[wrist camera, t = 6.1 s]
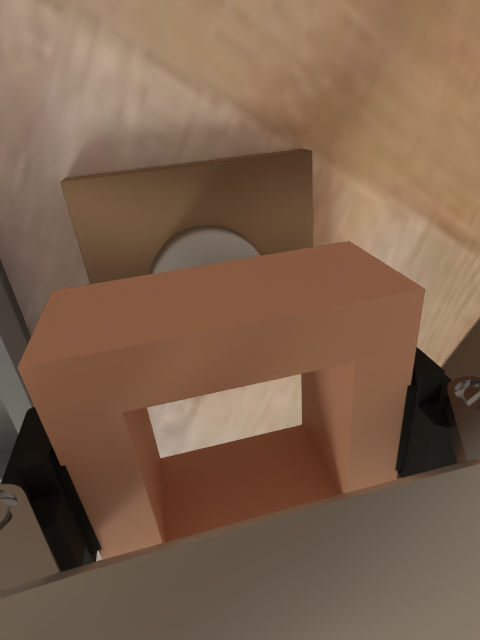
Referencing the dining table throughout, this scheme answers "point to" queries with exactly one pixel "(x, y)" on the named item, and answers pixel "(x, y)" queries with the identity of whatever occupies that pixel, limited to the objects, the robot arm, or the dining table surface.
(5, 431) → the tray
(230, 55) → the dining table surface
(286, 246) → the brown piece
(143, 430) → the ring
